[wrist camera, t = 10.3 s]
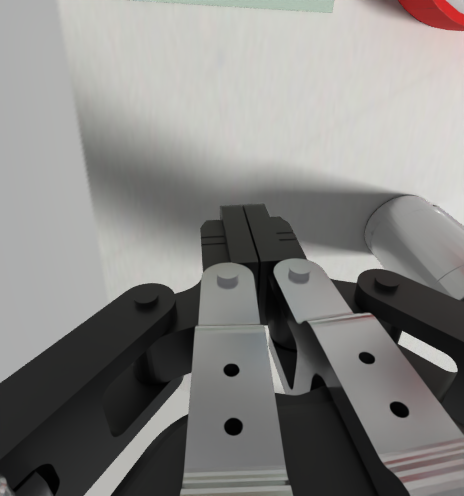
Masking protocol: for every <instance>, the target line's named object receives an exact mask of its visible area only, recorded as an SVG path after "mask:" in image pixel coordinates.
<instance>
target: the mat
mask: <svg viewBox="0 0 464 496" xmlns="http://www.w3.org/2000/svg"><path fill="white" fill-rule="evenodd" d="M134 1H150V2H166V3H182V4H198V5H214V6H230V7H246V8H262V9H278V10H294V11H310V12H326V13H332V11H333V5H334V0H134Z"/></svg>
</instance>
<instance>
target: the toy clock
mask: <svg viewBox="0 0 464 496" xmlns="http://www.w3.org/2000/svg"><path fill="white" fill-rule="evenodd" d="M398 1H399V2H400V4H401V5H402V6H403V8H404V9H405V10H406V11H407V12H409V13H410V14H411V15H412V16H413V17H415V18H416V19H417V20H419V21H421V22H423V23H425V24H427V25H429V26H431V27H435V28H440V29H445V30H455V31H464V0H398Z"/></svg>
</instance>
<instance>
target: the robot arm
mask: <svg viewBox="0 0 464 496" xmlns="http://www.w3.org/2000/svg"><path fill="white" fill-rule="evenodd" d="M365 241H366V244H367V246H368V247H369V249H370V250H371V251H372V253H373V254H374V255H375V257H376V258H377V260H378V261H379V262H380V264H381V265H382V266H383V268H384V269H385V270H383V269H371V270H367V271H364V272H362V273H361V274H360V275H359V277H358V280H357V283H352V282H345V281H338V280H333V279H330V278H329V277H328V275H327V274H326V273H325V271H324V270H323V268H322V267H320V266H319V265H318V264H316V263H314V262H312V261H309V260H307V258H306V256H305V254H304V252H303V250H302V248H301V246H300V244H299V242H298V240H297V238H296V236H295V234H294V233H293V230H292V228H291V226H290V224H289V223H288V222H286V221H285V220H283V219H282V218H281V217H269V214H268V212H267V210H266V207H265V205H264V204H248V205H229V206H220V220H209V221H206V222H205V223H204V224H203V226H202V227H201V246H202V264H203V274H202V278H201V280H200V282H199V283H198V284H197V285H195V286H194V287H192V288H190V289H188V290H186V291H183V292H180V293H176V294H174V292H173V291H172V289H170V288H169V287H167V286H165V285H162V284H156V283H148V284H142V285H138V286H135V287H133V288H131V289H129V290H128V291H126V292H125V293H123V294H122V295H121V296H119V297H118V298H116V299H115V300H114V301H112V302H111V303H110V304H108V305H107V306H106V307H104V308H103V309H101V310H100V311H99V312H97V313H96V314H94V315H93V316H92V317H90V318H89V319H88V320H87V321H85V322H84V323H82V324H81V325H79V326H78V327H77V328H75V329H74V330H73V331H71V332H70V333H68V334H67V335H66V336H64V337H63V338H62V339H60V340H59V341H58V342H56V343H55V344H53V345H52V346H51V347H49V348H48V349H46V350H45V351H44V352H42V353H41V354H40V355H38V356H37V357H35V358H34V359H33V360H31V361H30V362H29V363H27V364H26V365H25V366H23V367H22V368H20V369H19V370H18V371H16V372H15V373H14V374H12V375H11V376H9V377H8V378H7V379H5V380H4V381H3V382H1V383H0V496H84V495H85V493H86V492H87V491H88V490H89V489H90V488H91V487H92V485H93V484H94V483H95V482H96V481H97V480H98V479H99V477H100V476H101V475H102V474H103V473H104V472H105V471H106V469H107V468H108V467H109V466H110V465H111V464H112V462H113V461H114V460H115V459H116V458H117V456H119V454H120V453H121V452H122V451H123V450H124V449H125V447H126V446H127V445H128V444H129V443H130V442H131V441H132V440H133V438H134V437H135V436H136V435H137V434H138V432H140V430H141V429H142V428H143V427H144V426H145V425H146V423H147V422H148V421H149V420H150V419H151V417H153V415H154V414H155V413H156V412H157V411H158V410H159V409H160V407H161V406H162V405H163V404H164V403H165V402H166V400H167V399H168V398H169V397H170V396H171V395H172V394H173V393H174V391H175V390H176V389H177V388H178V387H179V385H180V384H181V382H182V380H183V377H184V375H186V374H188V373H191V372H192V375H191V388H190V400H189V401H190V402H189V413H188V414H187V415H185V416H183V417H182V418H180V419H179V420H177V421H175V422H174V423H172V424H171V425H170V426H169V427H167V428H166V429H165V430H164V431H162V432H161V433H160V434H159V435H158V436H157V437H156V438H155V439H154V440H153V441H152V443H151V444H150V445H149V446H148V447H147V449H146V450H145V452H144V453H143V454H142V455H141V457H140V458H139V459H138V460H137V462H136V463H135V464H134V466H133V467H132V468H131V470H130V471H129V472H128V473H127V475H126V476H125V477H124V479H123V480H122V481H121V483H120V484H119V485H118V486H117V488H116V489H115V490H114V492H113V493H112V494H111V496H464V226H463V225H462V224H460V223H459V222H458V221H457V220H455V219H454V218H453V217H452V216H450V215H449V214H448V213H446V212H445V211H444V210H443V209H441V208H440V207H438V206H433V205H431V204H430V203H429V202H428V201H426V200H425V199H423V198H421V197H417V196H402V197H398V198H395V199H392V200H390V201H388V202H387V203H385V204H383V205H382V206H381V207H380V208H378V209H377V210H376V211H375V212H374V214H373V215H372V216H371V218H370V219H369V221H368V223H367V226H366V229H365ZM265 325H268V328H269V342H268V344H269V349H270V352H271V355H272V357H273V360H274V363H275V366H276V369H277V372H278V375H279V377H280V380H281V383H282V386H283V389H284V392H285V394H279V393H274V386H273V379H272V373H271V366H270V359H269V353H268V346H267V339H266V333H265V327H264V326H265ZM402 331H404V332H406V333H408V334H410V335H411V336H413V337H415V338H417V339H419V340H421V341H423V342H425V343H427V344H429V345H430V346H432V347H434V348H436V349H438V350H440V351H442V352H444V353H445V354H447V355H448V356H450V357H451V358H452V359H453V360H454V361H455V363H456V365H457V369H458V372H449V371H446V370H444V369H442V368H440V367H438V366H437V365H435V364H433V363H431V362H429V361H428V360H426V359H424V358H422V357H420V356H419V355H417V354H415V353H413V352H411V351H410V350H408V349H406V348H404V347H402V346H401V345H399V344H398V341H399V338H400V335H401V333H402Z"/></svg>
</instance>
